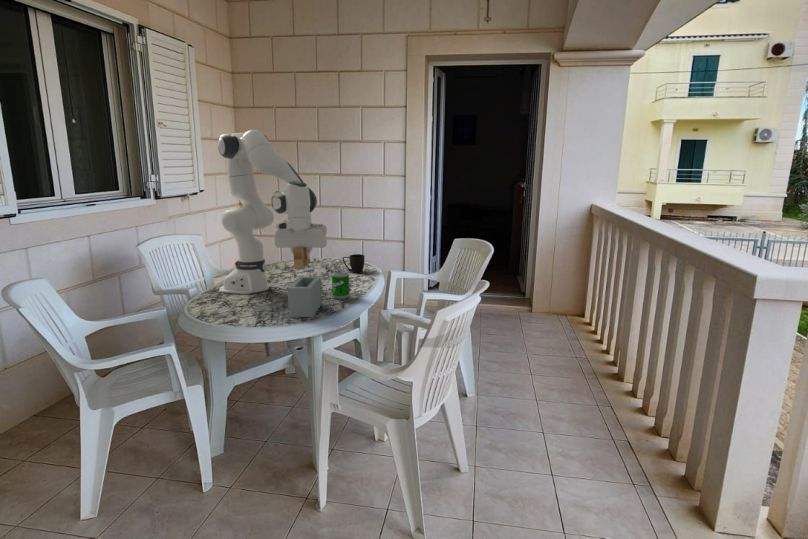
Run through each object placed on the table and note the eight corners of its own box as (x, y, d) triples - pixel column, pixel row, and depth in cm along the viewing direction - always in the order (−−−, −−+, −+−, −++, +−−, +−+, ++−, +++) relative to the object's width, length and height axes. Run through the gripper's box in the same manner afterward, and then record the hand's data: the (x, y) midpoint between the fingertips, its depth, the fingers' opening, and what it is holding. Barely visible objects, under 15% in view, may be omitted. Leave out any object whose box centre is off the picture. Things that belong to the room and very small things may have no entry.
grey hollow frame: (289, 317, 175) (287, 288, 173) (300, 303, 193) (299, 276, 190) (312, 318, 175) (310, 288, 172) (321, 304, 193) (320, 276, 190)
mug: (344, 270, 253) (343, 254, 251) (365, 270, 253) (365, 254, 251) (341, 274, 245) (341, 257, 243) (363, 274, 245) (363, 257, 243)
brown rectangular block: (302, 269, 173) (301, 248, 172) (294, 269, 174) (292, 248, 172) (310, 262, 185) (308, 243, 183) (302, 263, 185) (301, 243, 184)
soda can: (341, 294, 207) (340, 268, 205) (352, 297, 203) (352, 271, 200) (328, 297, 202) (328, 271, 199) (340, 301, 197) (339, 274, 194)
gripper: (327, 222, 178) (329, 256, 181) (277, 222, 179) (279, 256, 182) (324, 224, 172) (326, 260, 175) (271, 224, 173) (274, 260, 176)
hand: (302, 258), depth 179 cm, fingers closed on brown rectangular block, 3 cm apart
